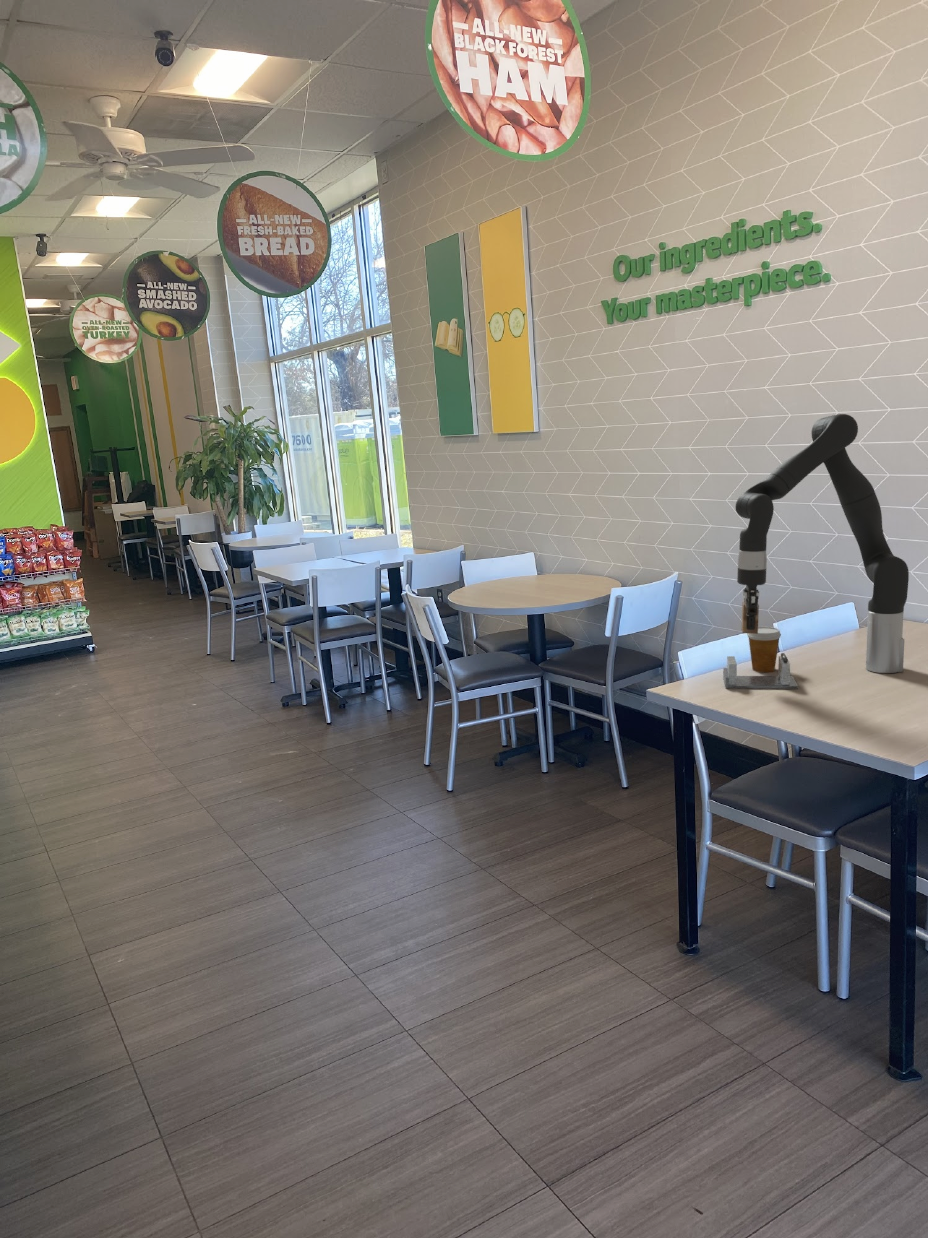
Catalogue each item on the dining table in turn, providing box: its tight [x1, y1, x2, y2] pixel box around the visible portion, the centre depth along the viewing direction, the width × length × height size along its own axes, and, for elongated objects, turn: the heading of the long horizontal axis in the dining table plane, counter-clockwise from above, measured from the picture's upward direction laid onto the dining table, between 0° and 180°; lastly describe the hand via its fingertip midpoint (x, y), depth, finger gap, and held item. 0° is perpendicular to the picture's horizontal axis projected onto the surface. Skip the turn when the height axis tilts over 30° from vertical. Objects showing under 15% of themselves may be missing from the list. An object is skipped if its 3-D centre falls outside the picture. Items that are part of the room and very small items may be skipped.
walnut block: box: [741, 601, 760, 634], centre depth 250 cm, size 4×4×8 cm
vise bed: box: [722, 656, 799, 690], centre depth 252 cm, size 19×10×7 cm, turn 78°
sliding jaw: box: [777, 652, 791, 685], centre depth 251 cm, size 2×8×7 cm, turn 168°
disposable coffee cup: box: [746, 626, 782, 673], centre depth 265 cm, size 10×10×12 cm
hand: (749, 627), depth 250 cm, fingers closed on walnut block, 4 cm apart
